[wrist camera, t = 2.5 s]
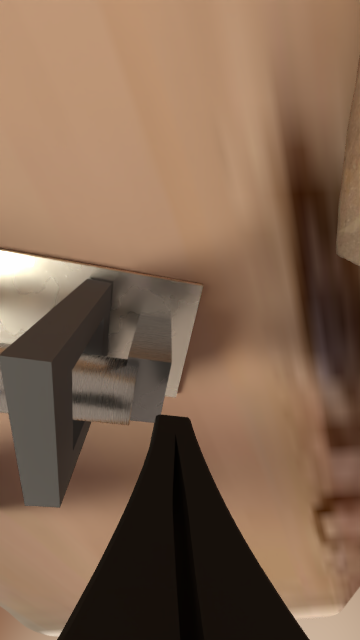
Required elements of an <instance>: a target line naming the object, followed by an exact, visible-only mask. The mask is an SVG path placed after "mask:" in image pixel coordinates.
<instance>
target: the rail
mask: <svg viewBox="0 0 360 640" xmlns="http://www.w3.org/2000/svg"><path fill="white" fill-rule="evenodd" d="M86 279H91V280H97V281H103V282H109V283H112V289H111V304H110V319H109V334H108V349H107V356H99V355H92V354H84V353H82V355H81V356H80V358H79V360H78V361H77V363H76V365H75V366H74V368H73V370H72V409H73V420H80V421H91V422H101V423H111V424H121V425H129V423H130V420H132V421H141V422H151V423H155V418H156V416H157V415H161V411H162V406H163V401H164V397H165V396H168V397H176V395H177V391H178V387H179V383H180V379H181V375H182V371H183V367H184V362H185V358H186V354H187V350H188V346H189V342H190V338H191V334H192V330H193V325H194V321H195V317H196V313H197V309H198V305H199V301H200V297H201V293H202V288H203V284H200V283H194V282H188V281H183V280H177V279H171V278H166V277H160V276H154V275H148V274H143V273H137V272H131V271H126V270H120V269H114V268H109V267H103V266H97V265H92V264H86V263H80V262H75V261H69V260H63V259H58V258H52V257H46V256H41V255H35V254H29V253H24V252H18V251H12V250H6V249H1V248H0V354H1V353H2V352H3V351H4V350H5V349H6V348H8V347H9V346H10V345H11V344H12V343H13V342H14V341H16V340H17V339H18V338H19V337H20V336H21V335H23V334H24V333H25V332H26V331H27V330H28V329H29V328H31V327H32V326H33V325H34V324H35V323H36V322H38V321H39V320H40V319H41V318H42V317H43V316H44V315H46V314H47V313H48V312H49V311H50V310H51V309H53V308H54V307H55V306H56V305H57V304H58V303H60V302H61V301H62V300H63V299H64V298H65V297H66V296H68V295H69V294H70V293H71V292H72V291H73V290H75V289H76V288H77V287H78V286H79V285H80V284H81V283H83V282H84V281H85V280H86ZM0 413H8V407H7V402H6V396H5V391H4V385H3V379H2V374H1V368H0Z"/></svg>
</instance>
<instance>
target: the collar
mask: <svg viewBox="0 0 360 640" xmlns="http://www.w3.org/2000/svg"><path fill="white" fill-rule="evenodd" d="M111 289H112V283H109V282H103V281H97V280H91V279H86V280H85V281H84V282H83V283H81V284H80V285H79V286H78V287H77V288H76V289H75V290H73V291H72V292H71V293H70V294H69V295H68V296H66V297H65V298H64V299H63V300H62V301H61V302H60V303H58V304H57V305H56V306H55V307H54V308H53V309H51V310H50V311H49V312H48V313H47V314H46V315H44V316H43V317H42V318H41V319H40V320H39V321H38V322H36V323H35V324H34V325H33V326H32V327H31V328H29V329H28V330H27V331H26V332H25V333H24V334H23V335H21V336H20V337H19V338H18V339H17V340H16V341H14V342H13V343H12V344H11V345H10V346H9V347H8V348H6V349H5V350H4V351H3V352H2V353H1V354H0V368H1V374H2V379H3V385H4V391H5V396H6V402H7V407H8V413H9V419H10V424H11V430H12V436H13V441H14V447H15V453H16V458H17V464H18V470H19V475H20V481H21V487H22V492H23V498H24V503H25V506H43V507H60V506H61V503H62V501H63V498H64V495H65V492H66V490H67V487H68V484H69V481H70V479H71V476H72V473H73V470H74V468H75V465H76V462H77V460H78V457H79V454H80V451H81V449H82V446H83V443H84V440H85V438H86V435H87V432H88V429H89V427H90V424H91V421H80V420H73V409H72V370H73V368H74V366H75V365H76V363H77V361H78V360H79V358H80V356H81V355H82V353H84V354H92V355H99V356H107V349H108V334H109V319H110V304H111Z"/></svg>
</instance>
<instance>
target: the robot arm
mask: <svg viewBox="0 0 360 640" xmlns="http://www.w3.org/2000/svg"><path fill="white" fill-rule="evenodd" d="M57 640H309V639H308V637H307V636H306V634H305V633H304V632H303V630H302V628H301V627H300V626H299V624H298V623H297V621H296V620H295V618H294V617H293V615H292V614H291V612H290V611H289V610H288V608H287V606H286V605H285V603H284V602H283V600H282V599H281V597H280V596H279V594H278V593H277V591H276V589H275V588H274V586H273V585H272V583H271V582H270V580H269V579H268V577H267V575H266V574H265V572H264V571H263V569H262V568H261V566H260V565H259V563H258V561H257V560H256V558H255V556H254V555H253V553H252V551H251V550H250V548H249V546H248V544H247V543H246V541H245V539H244V538H243V536H242V534H241V532H240V531H239V529H238V527H237V525H236V523H235V522H234V520H233V518H232V516H231V514H230V512H229V510H228V508H227V506H226V504H225V502H224V500H223V498H222V496H221V494H220V492H219V490H218V488H217V486H216V484H215V482H214V480H213V478H212V475H211V473H210V471H209V468H208V466H207V464H206V462H205V459H204V457H203V454H202V452H201V449H200V447H199V444H198V442H197V439H196V436H195V433H194V430H193V427H192V424H191V421H190V419H189V418H188V417H178V416H169V415H157V416H156V418H155V423H154V427H153V432H152V437H151V442H150V447H149V450H148V453H147V456H146V459H145V462H144V465H143V468H142V470H141V473H140V475H139V478H138V480H137V483H136V485H135V488H134V490H133V493H132V495H131V497H130V500H129V502H128V504H127V506H126V509H125V511H124V513H123V515H122V517H121V519H120V521H119V524H118V526H117V528H116V530H115V532H114V534H113V536H112V538H111V540H110V542H109V544H108V546H107V548H106V550H105V552H104V554H103V556H102V558H101V560H100V562H99V564H98V566H97V568H96V570H95V572H94V574H93V575H92V577H91V579H90V581H89V583H88V585H87V587H86V588H85V590H84V592H83V594H82V596H81V598H80V599H79V601H78V603H77V605H76V607H75V609H74V610H73V612H72V614H71V616H70V618H69V620H68V621H67V623H66V625H65V627H64V629H63V630H62V632H61V634H60V636H59V637H58V639H57Z"/></svg>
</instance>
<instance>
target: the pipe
mask: <svg viewBox="0 0 360 640" xmlns="http://www.w3.org/2000/svg"><path fill="white" fill-rule="evenodd" d="M336 253H337V255H338V256H340V257H341V258H345V259H346V260H348V261H351V262H352V263H354V264H356V265H358V266H360V58H359V64H358V72H357V80H356V85H355V91H354V96H353V101H352V106H351V112H350V118H349V124H348V130H347V139H346V148H345V156H344V163H343V173H342V183H341V191H340V197H339V207H338V227H337V238H336Z"/></svg>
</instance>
